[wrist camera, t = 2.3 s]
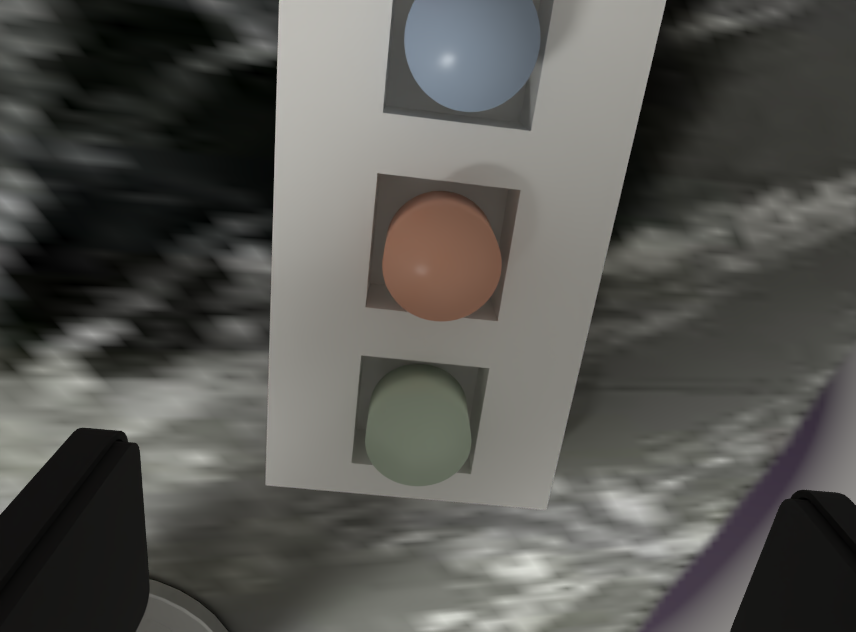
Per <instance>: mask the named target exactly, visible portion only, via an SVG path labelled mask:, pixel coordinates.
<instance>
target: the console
mask: <svg viewBox="0 0 856 632" xmlns="http://www.w3.org/2000/svg"><path fill="white" fill-rule="evenodd" d="M414 1H415V0H279V28H278V63H277V98H276V133H275V168H274V203H273V238H272V273H271V308H270V343H269V378H268V413H267V448H266V483H265V485H268V486H279V487H290V488H301V489H313V490H324V491H335V492H347V493H358V494H369V495H380V496H392V497H403V498H414V499H426V500H437V501H448V502H459V503H471V504H482V505H493V506H505V507H516V508H527V509H538V510H547V505H548V501H549V497H550V493H551V488H552V484H553V480H554V476H555V471H556V467H557V463H558V459H559V454H560V450H561V446H562V442H563V437H564V433H565V429H566V425H567V420H568V416H569V412H570V408H571V403H572V399H573V395H574V391H575V386H576V382H577V378H578V374H579V369H580V365H581V361H582V357H583V352H584V348H585V344H586V340H587V335H588V331H589V327H590V323H591V318H592V314H593V310H594V306H595V301H596V297H597V293H598V289H599V284H600V280H601V276H602V272H603V267H604V263H605V259H606V255H607V250H608V246H609V242H610V237H611V233H612V229H613V225H614V220H615V216H616V212H617V208H618V203H619V199H620V195H621V191H622V186H623V182H624V178H625V174H626V169H627V165H628V161H629V157H630V152H631V148H632V144H633V140H634V135H635V131H636V127H637V123H638V118H639V114H640V110H641V106H642V101H643V97H644V93H645V89H646V84H647V80H648V76H649V72H650V67H651V63H652V59H653V55H654V50H655V46H656V42H657V38H658V33H659V29H660V25H661V21H662V16H663V12H664V8H665V4H666V0H532V2H533V4H534V6H535V9H536V11H537V15H538V19H539V24H540V49H539V54H538V58H537V61H536V64H535V67H534V69H533V71H532V73H531V75H530V77H529V78H528V80H527V81H526V83H525V84H524V86H523V87H522V88H521V89H520V90H519V91H518V92H517V93H516V94H515V95H514V96H513V97H512V98H510V99H509V100H507V101H506V102H505V103H503V104H501V105H499V106H497V107H494V108H492V109H489V110H484V111H480V112H462V111H457V110H453V109H450V108H447V107H445V106H443V105H441V104H439V103H437V102H436V101H434V100H433V99H431V98H430V97H429V96H428V95H427V94H426V93H425V92H424V91H423V90H422V89H421V87H420V86H419V85H418V83H417V82H416V80H415V79H414V77H413V75H412V73H411V71H410V68H409V65H408V62H407V58H406V54H405V45H404V35H405V27H406V21H407V18H408V14H409V12H410V9H411V7H412V4H413V3H414ZM432 191H449V192H454V193H457V194H460V195H462V196H464V197H467V198H468V199H470V200H471V201H473V202H474V203H475V204H476V205H478V206H479V208H480V209H481V210H482V211H483V212H484V214H485V215H486V217H487V219H488V221H489V223H490V225H491V228H492V230H493V233H494V235H495V238H496V240H497V243H498V246H499V249H500V253H501V259H502V268H501V275H500V279H499V282H498V285H497V287H496V289H495V291H494V293H493V294H492V296H491V297H490V298H489V300H488V301H487V302H486V303H485V304H484V305H483V306H482V307H480V308H479V309H478V310H477V311H475V312H473V313H472V314H470V315H468V316H466V317H463V318H460V319H457V320H452V321H431V320H426V319H422V318H419V317H417V316H415V315H413V314H411V313H409V312H408V311H406V310H405V309H404V308H402V307H401V306H400V305H399V304H398V303H397V302H396V301H395V300H394V298H393V297H392V296H391V294H390V292H389V290H388V289H387V286H386V284H385V281H384V277H383V270H382V260H383V254H384V248H385V242H386V236H387V231H388V227H389V225H390V222H391V220H392V218H393V217H394V215H395V214H396V212H397V211H398V210H399V209H400V208H401V207H402V206H403V205H404V204H405V203H406V202H408V201H409V200H410V199H412V198H414V197H416V196H418V195H421V194H423V193H427V192H432ZM409 364H427V365H432V366H436V367H438V368H441V369H443V370H445V371H446V372H448V373H449V374H451V375H452V376H453V377H454V378H455V379H456V380H457V381H458V382H459V384H460V385H461V387H462V389H463V391H464V393H465V396H466V401H467V409H468V416H469V423H470V431H471V441H472V442H471V449H470V453H469V456H468V458H467V460H466V462H465V463H464V465H463V466H462V467H461V469H460V470H459V471H458V472H456V473H455V474H454V475H453V476H451V477H450V478H448V479H446V480H444V481H442V482H440V483H436V484H433V485H428V486H408V485H403V484H400V483H397V482H394V481H392V480H390V479H388V478H387V477H385V476H384V475H382V474H381V473H380V472H379V471H378V470H377V469H376V468H375V467H374V466H373V464H372V463H371V461H370V459H369V457H368V455H367V452H366V447H365V436H366V428H367V421H368V413H369V406H370V399H371V395H372V392H373V390H374V388H375V386H376V385H377V383H378V382H379V381H380V380H381V379H382V377H384V376H385V375H386V374H387V373H389V372H390V371H392V370H394V369H396V368H398V367H401V366H404V365H409Z"/></svg>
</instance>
